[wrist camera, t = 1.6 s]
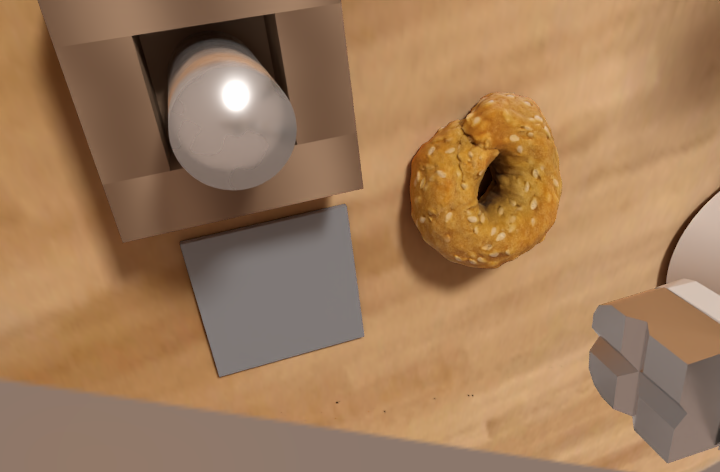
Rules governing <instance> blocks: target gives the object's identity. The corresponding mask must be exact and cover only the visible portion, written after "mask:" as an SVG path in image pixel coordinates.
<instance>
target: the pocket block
mask: <svg viewBox="0 0 720 472" xmlns="http://www.w3.org/2000/svg"><path fill="white" fill-rule="evenodd" d="M38 3H39V6H40V9H41V12H42V14H43V17H44V20H45V23H46V26H47V29H48V31H49V34H50V37H51V40H52V43H53V46H54V49H55V51H56V54H57V57H58V60H59V63H60V66H61V68H62V71H63V74H64V77H65V80H66V83H67V85H68V88H69V91H70V94H71V97H72V100H73V103H74V105H75V108H76V111H77V114H78V117H79V120H80V122H81V125H82V128H83V131H84V134H85V137H86V139H87V142H88V145H89V148H90V151H91V154H92V157H93V159H94V162H95V165H96V168H97V171H98V174H99V176H100V179H101V182H102V185H103V188H104V191H105V193H106V196H107V199H108V202H109V205H110V208H111V211H112V213H113V216H114V219H115V222H116V225H117V228H118V230H119V233H120V236H121V239H122V242H123V243H124V242H129V241H133V240H138V239H142V238H146V237H151V236H155V235H160V234H164V233H169V232H173V231H177V230H182V229H186V228H191V227H195V226H200V225H204V224H208V223H213V222H217V221H222V220H226V219H230V218H235V217H239V216H244V215H248V214H253V213H257V212H261V211H266V210H270V209H275V208H279V207H284V206H288V205H292V204H297V203H301V202H306V201H310V200H314V199H319V198H323V197H328V196H332V195H337V194H341V193H345V192H350V191H354V190H359V189H363V181H362V173H361V164H360V156H359V148H358V139H357V131H356V123H355V114H354V106H353V97H352V89H351V81H350V72H349V64H348V55H347V47H346V39H345V30H344V22H343V14H342V5H341V0H38ZM208 30H213V31H221V32H225V33H228V34H230V35H232V36H234V37H236V38H237V39H239V40H240V41H241V42H243V43H244V44H245V45H246V46H247V47H248V48H249V50H250V51H251V52H252V53H253V55H254V56H255V57H256V58H257V60H258V61H259V62H260V63H261V65H262V66H263V67H264V68H265V69H266V71H267V72H268V73H269V74H270V76H271V77H272V78H273V79H274V81H275V82H276V83H277V84H278V86H279V87H280V88H281V89H282V91H283V92H284V93H285V95H286V96H287V98H288V99H289V101H290V103H291V105H292V108H293V110H294V114H295V118H296V126H297V133H296V141H295V145H294V148H293V151H292V153H291V156H290V158H289V159H288V161H287V163H286V164H285V165H284V167H283V168H282V169H281V170H280V171H279V172H278V173H277V174H276V175H275V176H274V177H272V178H271V179H270V180H268V181H266V182H264V183H263V184H260V185H258V186H256V187H252V188H249V189H243V190H223V189H218V188H214V187H211V186H208V185H206V184H204V183H202V182H200V181H199V180H197V179H195V178H194V177H193V176H191V175H190V174H189V173H188V172H187V171H186V170H185V169H184V168H183V167H182V165H181V164H180V163H179V161H178V160H177V158H176V156H175V154H174V152H173V150H172V147H171V144H170V139H169V131H168V65H169V61H170V58H171V55H172V53H173V51H174V50H175V48H176V47H177V46H178V45H179V44H180V43H181V42H182V41H183V40H184V39H185V38H187V37H188V36H190V35H192V34H195V33H197V32H201V31H208Z"/></svg>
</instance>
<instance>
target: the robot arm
mask: <svg viewBox="0 0 720 472" xmlns="http://www.w3.org/2000/svg"><path fill="white" fill-rule="evenodd" d="M592 328H593V329H594V330H595V332H596V333H597V334H598V335H599V338H598V339H597V341H596V342H595V344H594V345H593V347H592V348H591V349H590V354H589V370H590V373H591V376H592V380H593V383H594V385H595V387H596V388H597V390H598V392H599V393H600V395H601V396H602V398H603V399H604V400H605V401H606V402H607V403H608V404H609V405H610V406H611V407H612V408H613V409H615V410H617V411H620V412H623V413H625V414H628V415H630V416H632V417H633V425H634V430H635V431H636V432H637V433H638V434H639V435H640V436H641V437H642V438H643V439H644V440H645V441H646V442H647V443H648V444H649V445H650V446H651V447H652V448H653V449H654V450H655V451H656V452H657V453H658V454H659V455H660V456H661V457H662V458H663V459H664V460H665V461H666V462H667V463H670V462H673V461H676V460H679V459H682V458H685V457H688V456H691V455H694V454H696V453H699V452H702V451H705V450H708V449H711V448H714V447H717V446H719V448H718V450H720V191H719V192H718V193H717V194H716V195H715V196H714V197H713V198H712V199H711V200H709V201H708V202H707V203H706V204H705V206H704V207H703V208H702V209H701V210H700V211H699V212H698V213H697V215H696V216H695V217H694V218H693V220H692V221H691V222H690V224H689V225H688V227H687V228H686V230H685V231H684V233H683V234H682V236H681V238H680V240H679V242H678V244H677V246H676V248H675V250H674V253H673V255H672V258H671V261H670V264H669V268H668V273H667V279H666V284H665V285H662V286H658V287H656V288H654V289H650V290H647V291H644V292H640V293H637V294H634V295H631V296H627V297H624V298H621V299H618V300H614V301H611V302H608V303H605V304H601V305H599V306H598V308H597V309H596V311H595V313H594V315H593V324H592Z"/></svg>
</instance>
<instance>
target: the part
mask: <svg viewBox="0 0 720 472" xmlns="http://www.w3.org/2000/svg"><path fill="white" fill-rule="evenodd" d="M168 131H169V139H170V144H171V147H172V150H173V152H174V154H175V156H176V158H177V160H178V161H179V163H180V164H181V165H182V167H183V168H184V169H185V170H186V171H187V172H188V173H189V174H190V175H191V176H193V177H194V178H195V179H197V180H199V181H200V182H202V183H204V184H206V185H208V186H211V187H214V188H218V189H223V190H243V189H249V188H252V187H256V186H258V185H260V184H263V183H264V182H266V181H268V180H270V179H271V178H272V177H274V176H275V175H276V174H277V173H278V172H279V171H280V170H281V169H282V168H283V167H284V165H285V164H286V163H287V161H288V159H289V158H290V156H291V153H292V151H293V148H294V145H295V141H296V133H297V126H296V118H295V114H294V110H293V108H292V105H291V103H290V101H289V99H288V98H287V96H286V95H285V93H284V92H283V91H282V89H281V88H280V87H279V86H278V84H277V83H276V82H275V81H274V79H273V78H272V77H271V76H270V74H269V73H268V72H267V71H266V69H265V68H264V67H263V66H262V65H261V63H260V62H259V61H258V60H257V58H256V57H255V56H254V55H253V53H252V52H251V51H250V50H249V48H248V47H247V46H246V45H245V44H244V43H243V42H241V41H240V40H239V39H237V38H236V37H234V36H232V35H230V34H228V33H225V32H221V31H213V30H208V31H201V32H197V33H195V34H192V35H190V36H188V37H187V38H185V39H184V40H183V41H182V42H181V43H180V44H179V45H178V46H177V47H176V48H175V50H174V51H173V53H172V55H171V58H170V61H169V65H168Z"/></svg>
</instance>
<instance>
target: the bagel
mask: <svg viewBox="0 0 720 472" xmlns="http://www.w3.org/2000/svg"><path fill="white" fill-rule="evenodd" d="M488 166H489V167H490V172H491V174H492V179H493V180H492V181H491V184H490V185H489V186H488V188H487V190H486V192H485V193H484V194H483V196H481V197H480V200H479V201H478V199H477V196H478V188H479V185H480V183H481V180H482V178H483V176H484V173H485V171H486V169H487V167H488ZM411 172H412V173H411V181H410V198H411V207H412V212H411V216H412V219H413V220H414V222H415V225H416V227H417V228H418V230H419V231H420V233H421V235H422V238H423V239H424V241H425V242H426V243H427V244H429V245H430V246H431V247H433V248H434V249H435V250H437V251H438V252H439V253H440V254H441V255H442V256H443V257H445V258H446V259H448V260H449V261H451V262H454V263H459V264H462V265H465V266H469V267H475V268H491V269H493V268H498V267H499V266H501V265H502V264H504V263H506V262H508V261H512V260H514V259H516V258H518V256H520V255H521V254H523V253H525V252H527V251H529V250H530V249H532V248H533V247H534V246H535V245H536V244H538V243H540V242H542V241H543V240H544V239H545V236H546V233H547V231H548V230H549V229H550V228H551V227H552V225H553V224H554V222H555V219H556V214H557V209H558V206H559V200H560V196H561V193H562V181H561V177H560V172H559V157H558V151H557V148H556V147H555V144H554V139H553V136H552V133H551V129H550V127H549V126H548V124H547V122H546V120H545V117H544V115H543V114H542V113H541V111H540V108H539V107H538V106H537V104H536V103H535V102H534V101H533V100H532V99H530V98H528V97H524V96H518V95H515V94H514V93H507V92H506V93H499V92H493V93H490V94H488V95H486V96H484V97H483V98H481V100H480V101H479V102H478V103H477V105H476V106H475V107H473V108H472V109H471V112H470V114H468V115H467V116H466V118H465V119H462V120H456V121H453V122H450V123H449V124H448V125H447V126H446V127H441V128H440V129H439V130H438V132H437V133H436V134H435V135H434V136H433V137H432V138H431V139H430V140H429V141H428V142H426V143H425V144H423V145H422V146H421V147H420V149H419V151H418V152H417V154H416V155H415V156H414V158H413V160H412V163H411Z"/></svg>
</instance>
